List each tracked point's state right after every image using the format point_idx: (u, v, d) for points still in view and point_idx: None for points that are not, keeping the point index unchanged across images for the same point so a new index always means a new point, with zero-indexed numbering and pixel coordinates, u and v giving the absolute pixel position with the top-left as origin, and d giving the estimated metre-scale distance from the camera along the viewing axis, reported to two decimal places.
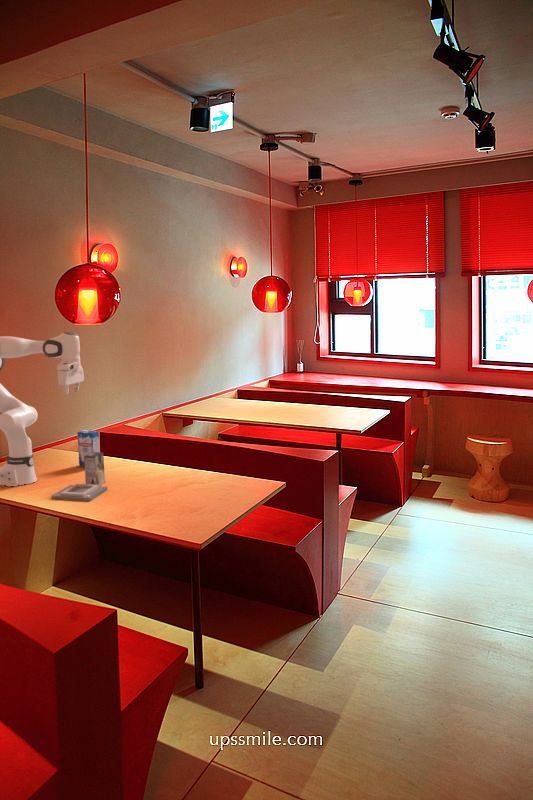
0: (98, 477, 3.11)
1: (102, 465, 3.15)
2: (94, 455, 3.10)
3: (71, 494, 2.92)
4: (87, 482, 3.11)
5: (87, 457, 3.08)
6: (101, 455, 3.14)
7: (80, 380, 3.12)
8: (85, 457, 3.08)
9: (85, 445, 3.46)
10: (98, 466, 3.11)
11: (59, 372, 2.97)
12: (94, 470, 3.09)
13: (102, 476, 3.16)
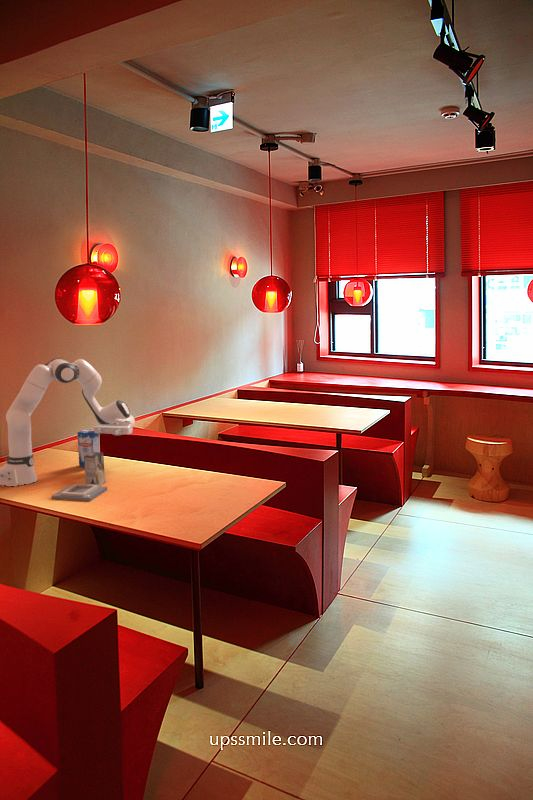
0: (98, 477, 3.11)
1: (102, 465, 3.15)
2: (94, 455, 3.10)
3: (71, 494, 2.92)
4: (87, 482, 3.11)
5: (87, 457, 3.08)
6: (101, 455, 3.14)
7: None
8: (85, 457, 3.08)
9: (85, 445, 3.46)
10: (98, 466, 3.11)
11: (131, 426, 3.34)
12: (94, 470, 3.09)
13: (102, 476, 3.16)
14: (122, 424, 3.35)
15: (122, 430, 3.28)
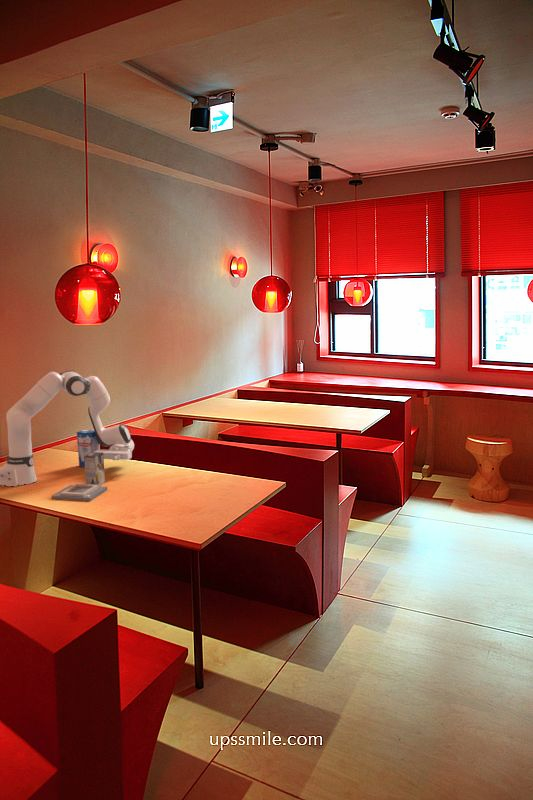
0: (98, 477, 3.11)
1: (102, 465, 3.15)
2: (94, 455, 3.10)
3: (71, 494, 2.92)
4: (87, 482, 3.11)
5: (87, 457, 3.08)
6: (101, 455, 3.14)
7: None
8: (85, 457, 3.08)
9: (85, 445, 3.46)
10: (98, 466, 3.11)
11: (130, 451, 3.34)
12: (94, 470, 3.09)
13: (102, 476, 3.16)
14: (121, 449, 3.34)
15: (121, 456, 3.28)
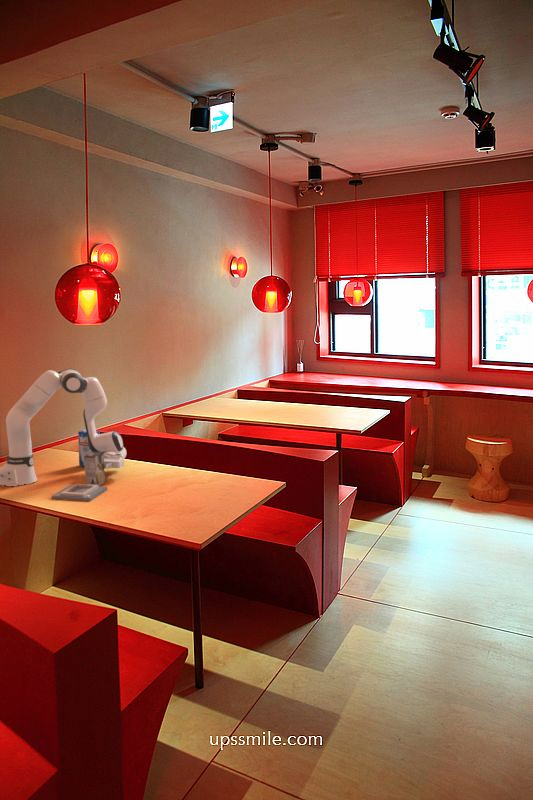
0: (98, 477, 3.11)
1: (102, 465, 3.15)
2: (94, 455, 3.10)
3: (71, 494, 2.92)
4: (87, 482, 3.11)
5: (87, 457, 3.08)
6: (101, 455, 3.14)
7: None
8: (85, 457, 3.08)
9: (86, 444, 3.46)
10: (98, 466, 3.11)
11: (122, 459, 3.24)
12: (94, 470, 3.09)
13: (102, 476, 3.16)
14: (113, 457, 3.25)
15: (113, 464, 3.19)
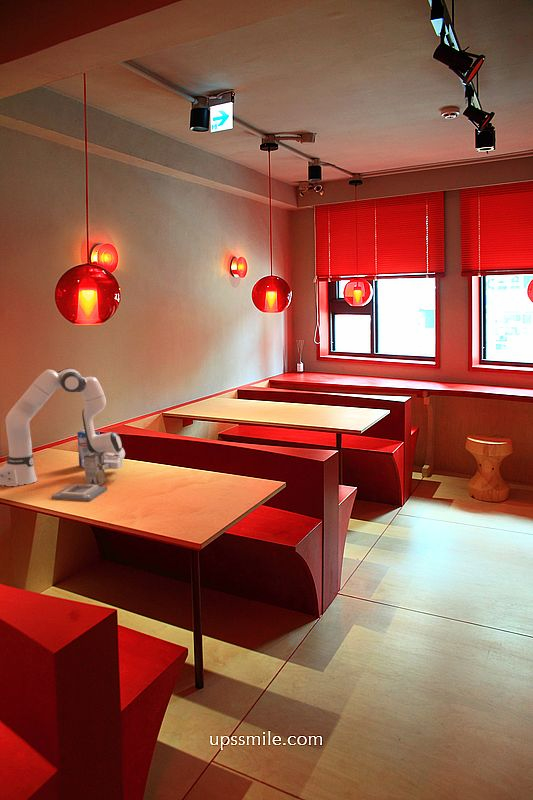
0: (98, 477, 3.11)
1: None
2: (94, 455, 3.10)
3: (71, 494, 2.92)
4: (87, 482, 3.11)
5: (87, 457, 3.08)
6: (101, 455, 3.14)
7: None
8: (85, 457, 3.08)
9: (85, 445, 3.46)
10: (98, 466, 3.11)
11: (120, 460, 3.22)
12: (94, 470, 3.09)
13: (102, 476, 3.16)
14: (111, 458, 3.23)
15: (111, 465, 3.16)
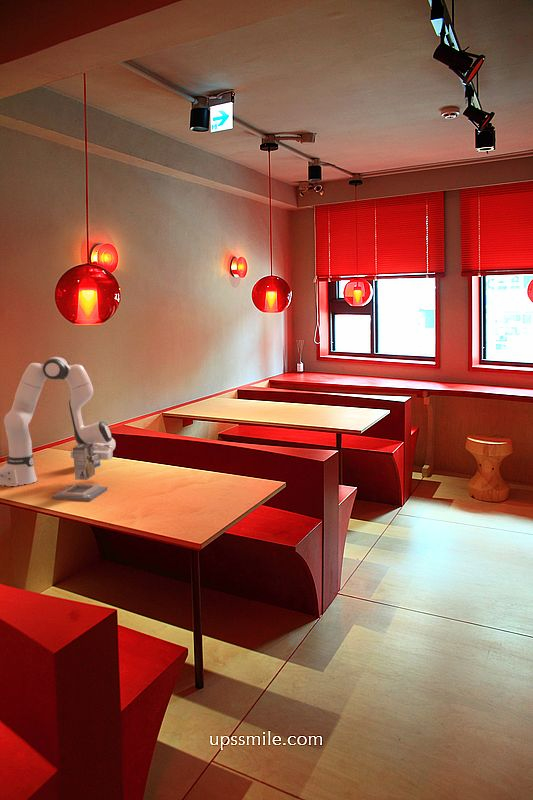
0: (88, 469, 3.01)
1: None
2: (83, 447, 2.98)
3: (71, 494, 2.92)
4: (76, 475, 3.00)
5: (76, 449, 2.97)
6: (90, 447, 3.02)
7: None
8: (74, 449, 2.97)
9: None
10: (88, 458, 3.00)
11: (110, 450, 3.11)
12: (83, 462, 2.98)
13: (92, 468, 3.05)
14: (101, 448, 3.11)
15: (101, 455, 3.05)
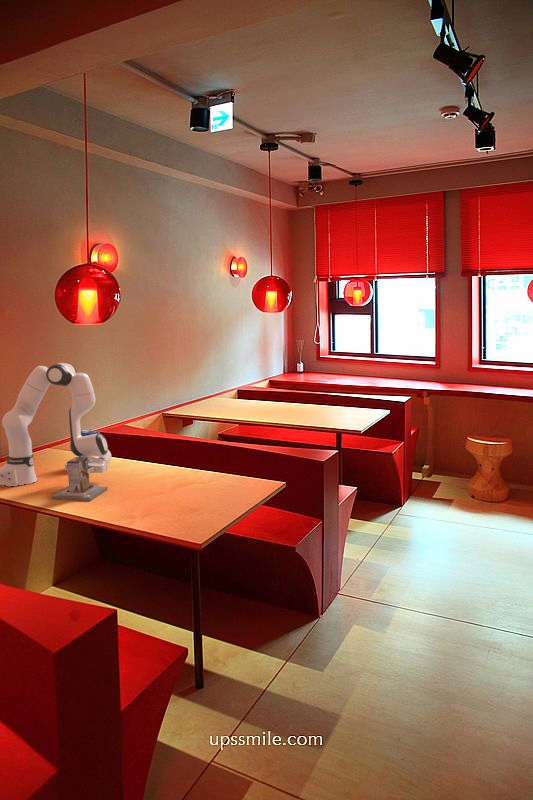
0: (82, 483, 2.95)
1: None
2: (78, 460, 2.94)
3: (71, 494, 2.92)
4: (70, 489, 2.94)
5: (70, 463, 2.92)
6: (85, 460, 2.97)
7: None
8: (68, 463, 2.92)
9: None
10: (82, 472, 2.95)
11: (105, 463, 3.05)
12: (78, 476, 2.92)
13: (87, 482, 2.99)
14: (96, 461, 3.06)
15: (95, 468, 3.00)
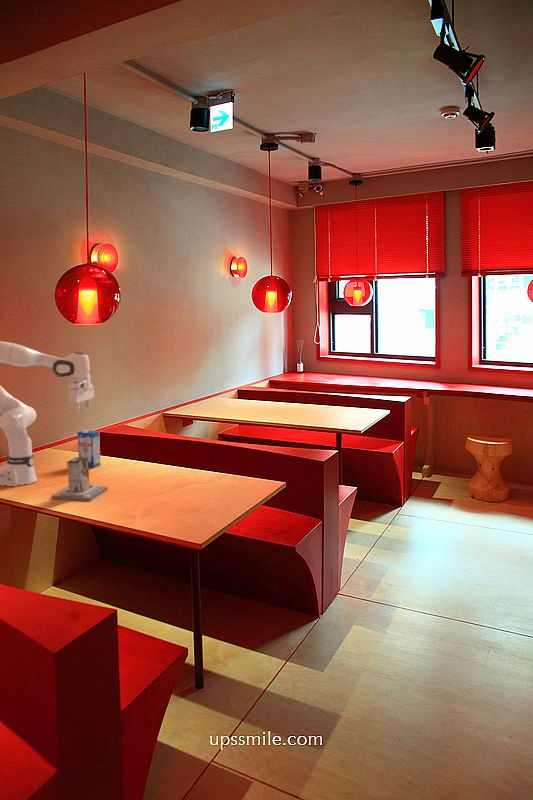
0: (83, 483, 2.95)
1: (86, 471, 2.99)
2: (78, 460, 2.94)
3: (71, 494, 2.92)
4: (70, 489, 2.94)
5: (70, 462, 2.92)
6: (85, 460, 2.97)
7: (90, 397, 3.25)
8: (68, 462, 2.92)
9: (85, 445, 3.46)
10: (82, 472, 2.95)
11: (70, 391, 3.10)
12: (78, 476, 2.92)
13: (87, 482, 2.99)
14: None
15: None
